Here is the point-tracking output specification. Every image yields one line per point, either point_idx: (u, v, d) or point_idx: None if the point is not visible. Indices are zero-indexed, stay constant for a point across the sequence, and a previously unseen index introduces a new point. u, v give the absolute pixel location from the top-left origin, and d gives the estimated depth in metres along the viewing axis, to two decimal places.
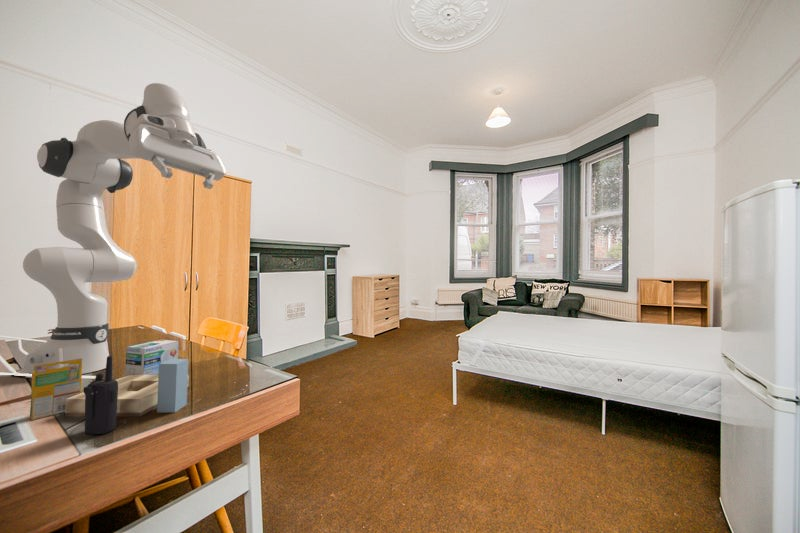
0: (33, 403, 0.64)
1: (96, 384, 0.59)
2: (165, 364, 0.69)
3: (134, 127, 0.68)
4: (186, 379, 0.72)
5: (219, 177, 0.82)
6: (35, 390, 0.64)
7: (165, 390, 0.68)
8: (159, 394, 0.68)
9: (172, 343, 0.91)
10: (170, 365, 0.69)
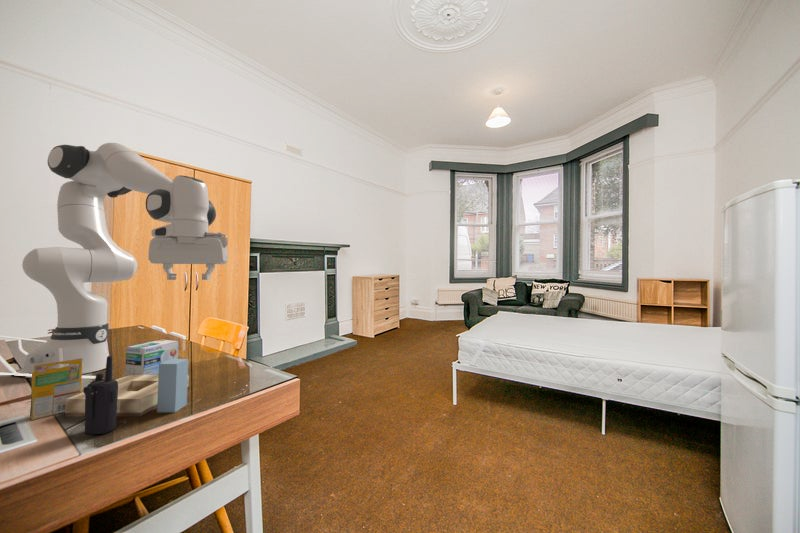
0: (33, 403, 0.64)
1: (96, 384, 0.59)
2: (165, 364, 0.69)
3: None
4: (186, 379, 0.72)
5: None
6: (35, 390, 0.64)
7: (165, 390, 0.68)
8: (159, 394, 0.68)
9: (172, 343, 0.91)
10: (170, 365, 0.69)
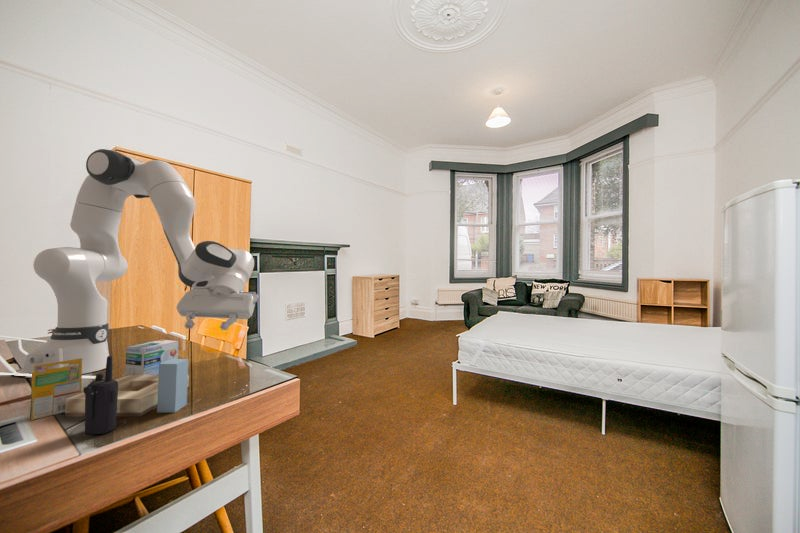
0: (33, 403, 0.64)
1: (96, 384, 0.59)
2: (165, 364, 0.69)
3: None
4: (186, 379, 0.72)
5: (244, 316, 0.87)
6: (35, 390, 0.64)
7: (165, 390, 0.68)
8: (159, 394, 0.68)
9: (172, 343, 0.91)
10: (170, 365, 0.69)
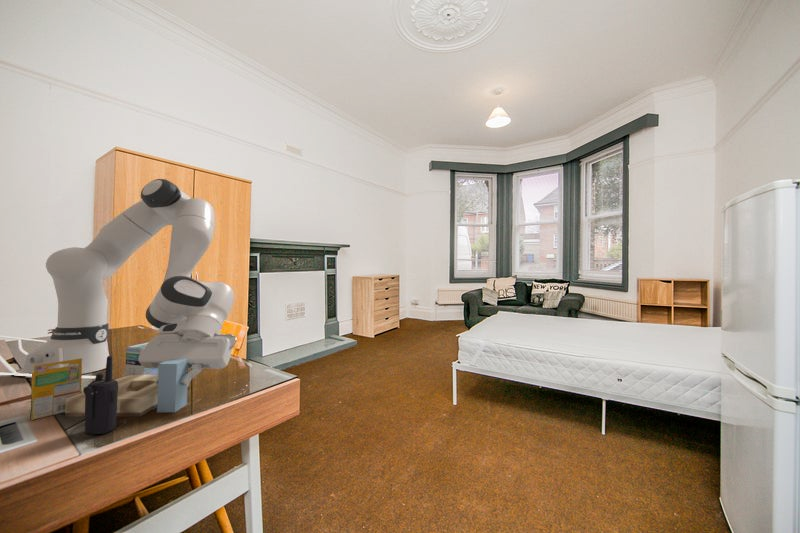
0: (33, 403, 0.64)
1: (96, 384, 0.59)
2: (165, 364, 0.69)
3: None
4: None
5: (218, 366, 0.74)
6: (35, 390, 0.64)
7: (165, 390, 0.68)
8: (159, 394, 0.68)
9: None
10: (170, 365, 0.69)
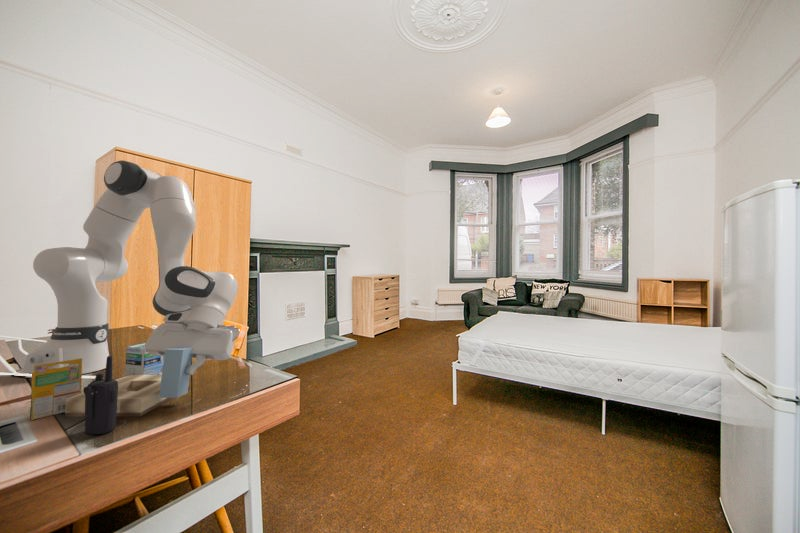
0: (33, 403, 0.64)
1: (96, 384, 0.59)
2: (171, 350, 0.71)
3: None
4: None
5: (221, 357, 0.76)
6: (35, 390, 0.64)
7: (169, 376, 0.70)
8: (162, 379, 0.70)
9: None
10: (176, 351, 0.71)
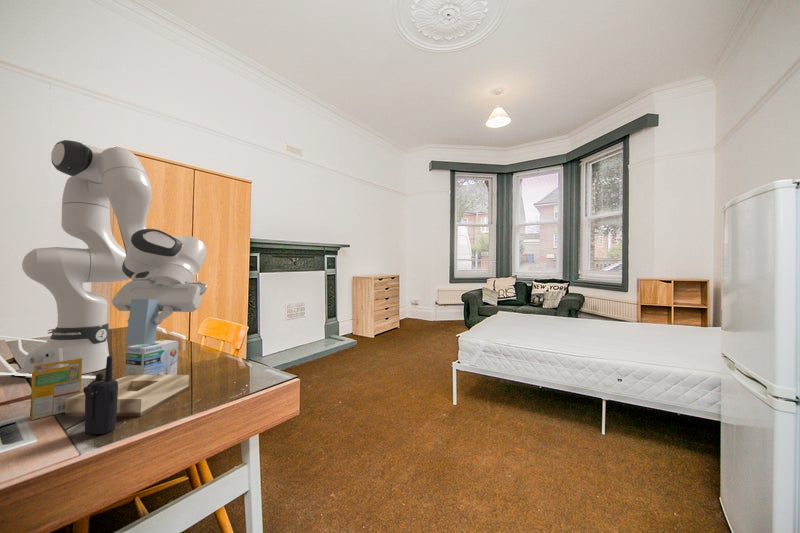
0: (33, 403, 0.64)
1: (96, 384, 0.59)
2: (137, 299, 0.74)
3: None
4: None
5: (188, 308, 0.79)
6: (35, 390, 0.64)
7: (135, 324, 0.73)
8: (128, 327, 0.73)
9: (172, 343, 0.91)
10: (142, 300, 0.74)
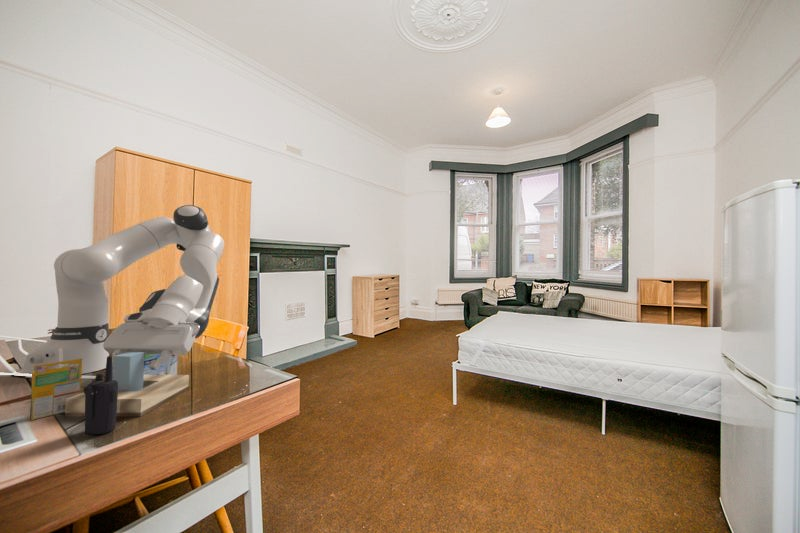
0: (33, 403, 0.64)
1: (96, 384, 0.59)
2: (119, 356, 0.71)
3: None
4: (142, 371, 0.74)
5: (179, 352, 0.77)
6: (35, 390, 0.64)
7: (119, 382, 0.71)
8: None
9: None
10: (124, 357, 0.71)
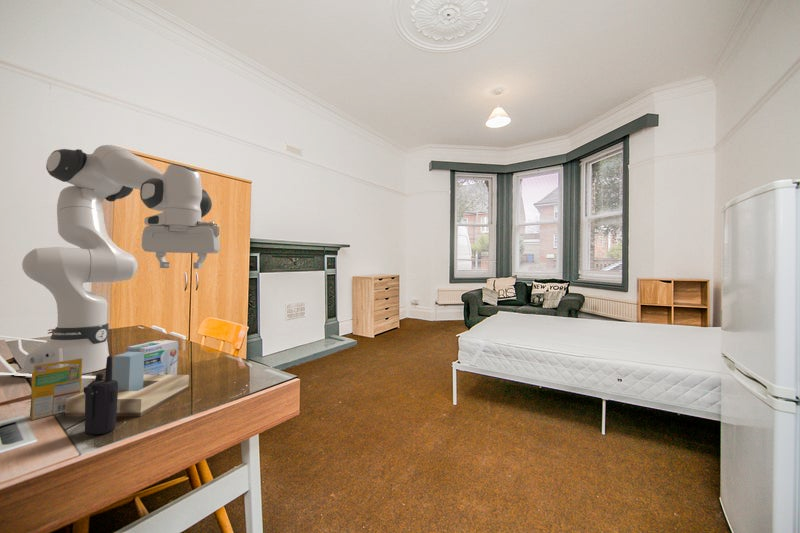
0: (33, 403, 0.64)
1: (96, 384, 0.59)
2: (119, 356, 0.71)
3: None
4: (142, 371, 0.74)
5: None
6: (35, 390, 0.64)
7: (119, 382, 0.71)
8: None
9: (172, 343, 0.91)
10: (124, 357, 0.71)
